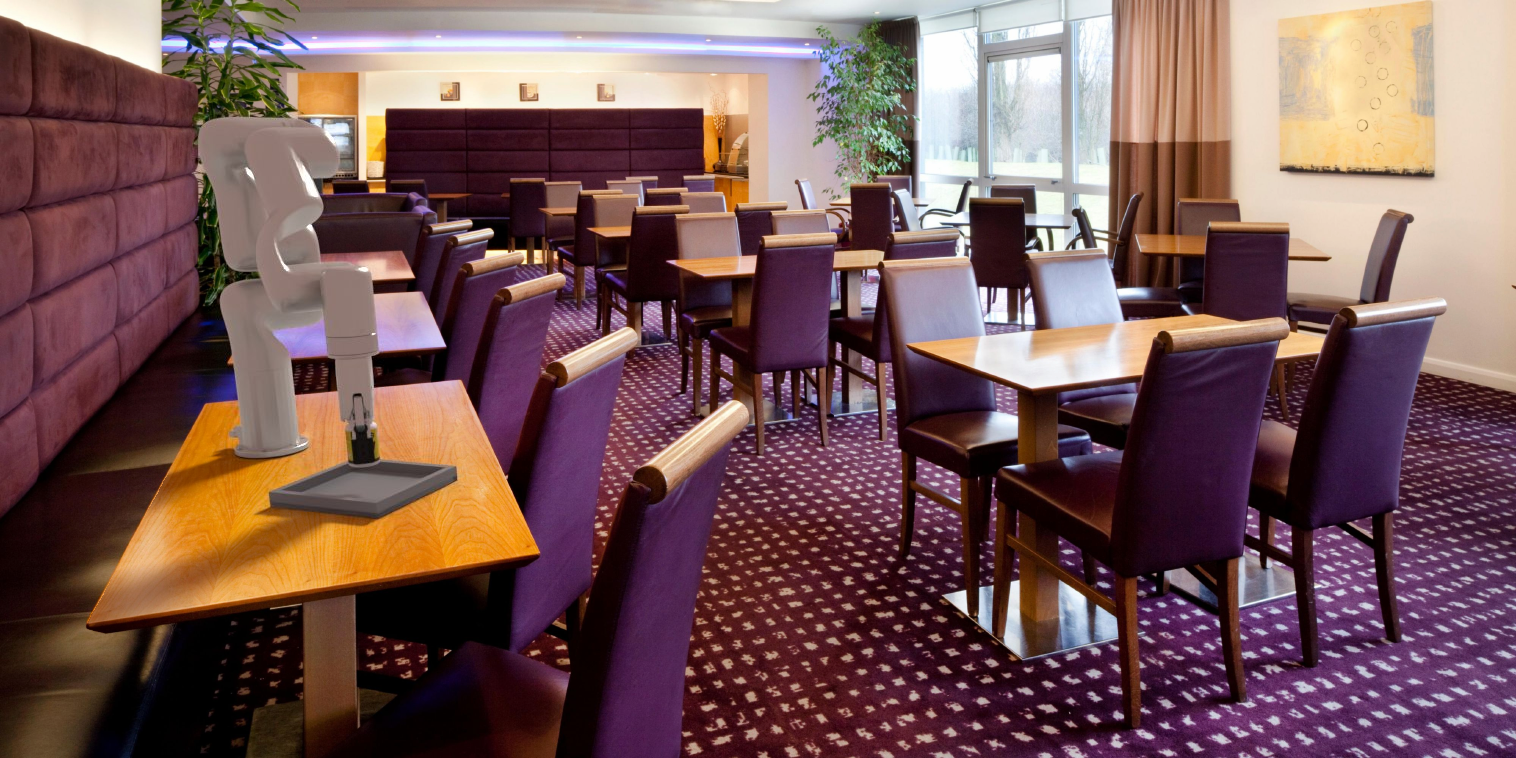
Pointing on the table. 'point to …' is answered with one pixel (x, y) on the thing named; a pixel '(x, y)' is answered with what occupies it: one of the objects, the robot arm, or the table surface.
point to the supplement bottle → (373, 434)
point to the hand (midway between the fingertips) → (364, 457)
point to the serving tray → (363, 488)
